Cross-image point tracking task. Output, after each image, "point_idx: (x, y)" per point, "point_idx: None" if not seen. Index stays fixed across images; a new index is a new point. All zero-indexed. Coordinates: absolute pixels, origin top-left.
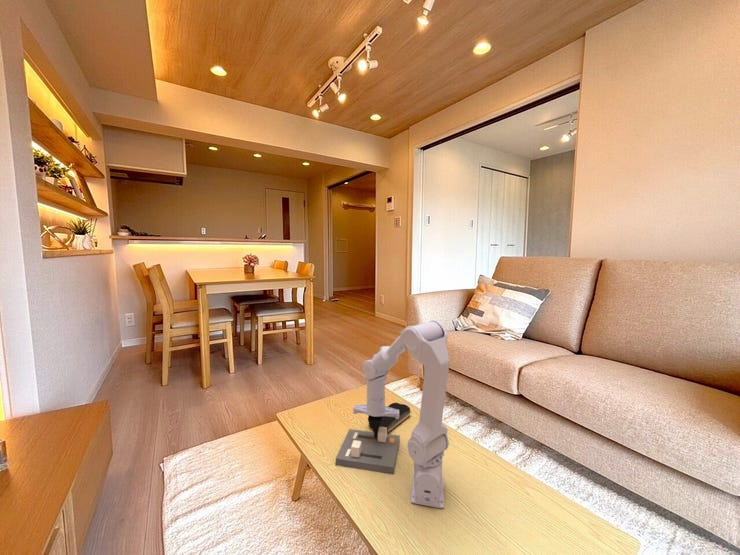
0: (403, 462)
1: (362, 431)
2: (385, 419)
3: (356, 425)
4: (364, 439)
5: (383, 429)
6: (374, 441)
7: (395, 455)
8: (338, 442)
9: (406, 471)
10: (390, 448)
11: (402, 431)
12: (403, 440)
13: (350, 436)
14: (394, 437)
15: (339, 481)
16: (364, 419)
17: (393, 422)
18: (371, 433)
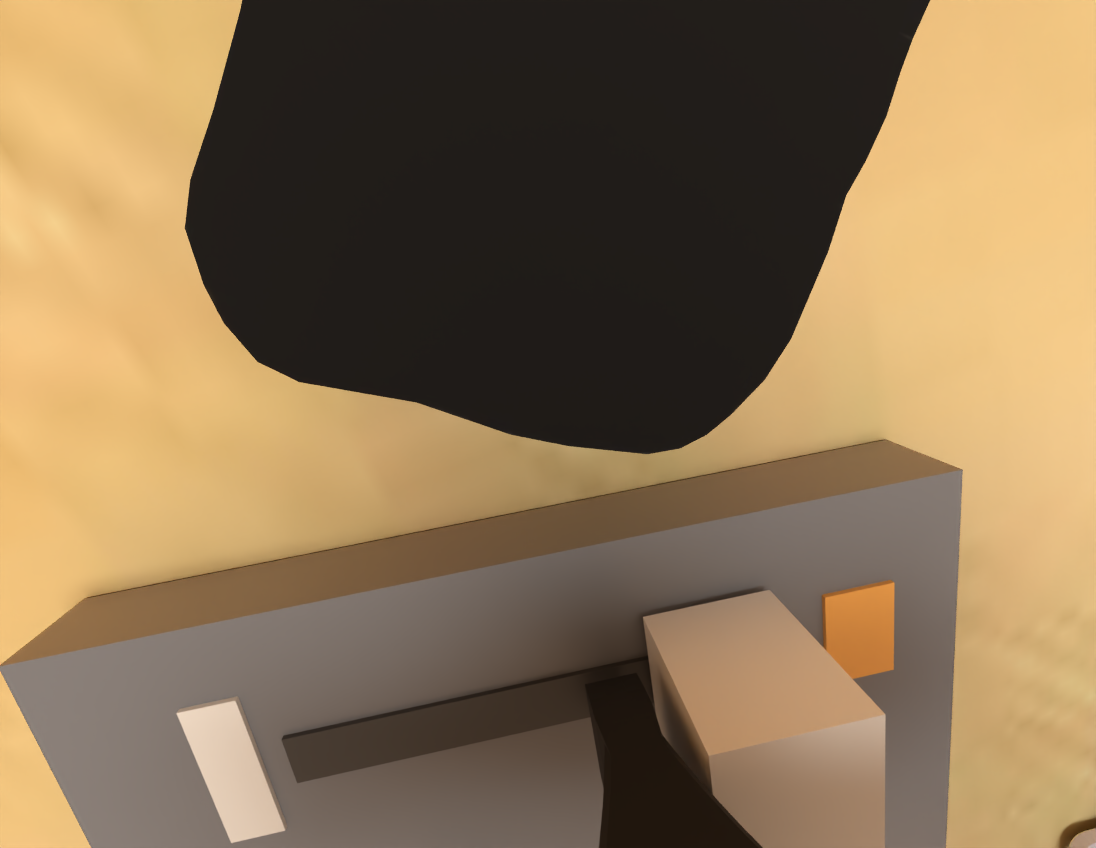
0: (961, 742)
1: (293, 633)
2: (641, 149)
3: (27, 325)
4: (434, 782)
5: (819, 795)
6: None
7: (941, 844)
8: (52, 799)
9: (995, 823)
10: None
11: (899, 186)
12: (933, 401)
13: (167, 817)
14: (884, 550)
15: None
16: (48, 49)
17: (837, 172)
18: (477, 609)
